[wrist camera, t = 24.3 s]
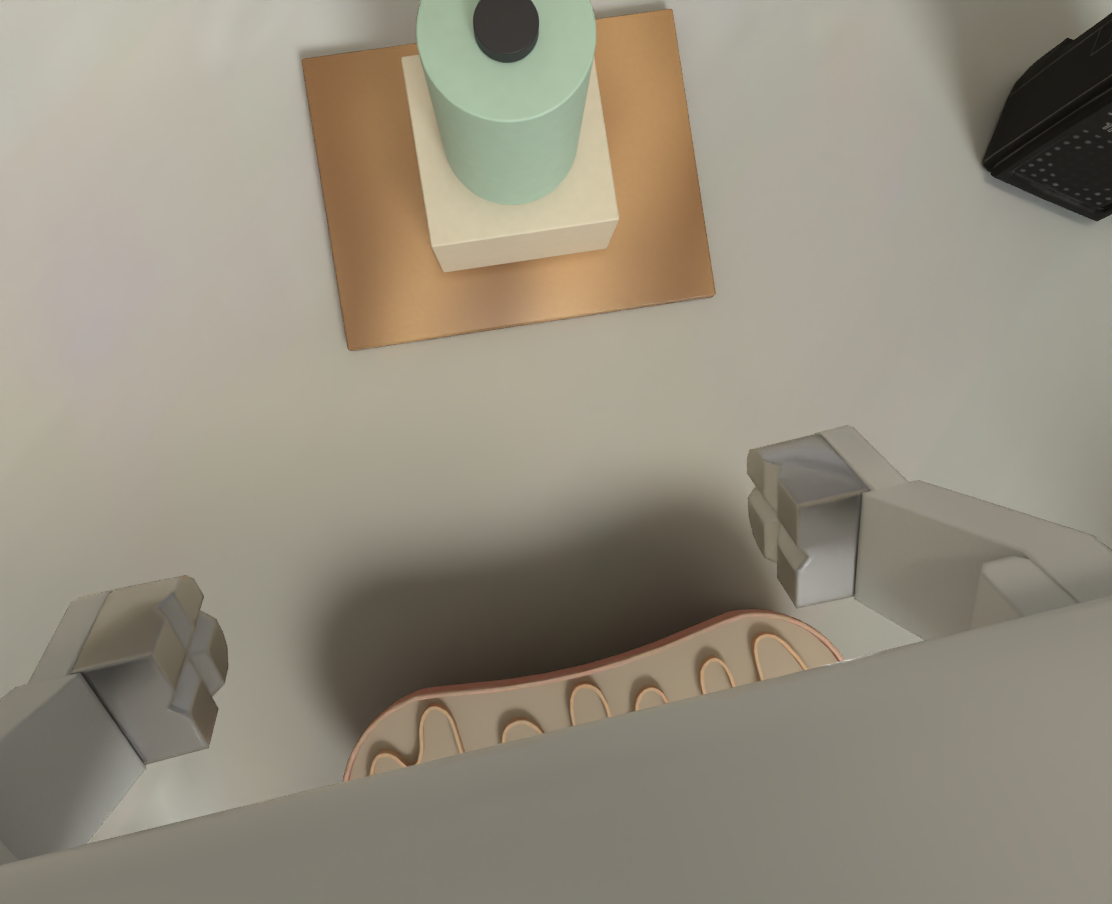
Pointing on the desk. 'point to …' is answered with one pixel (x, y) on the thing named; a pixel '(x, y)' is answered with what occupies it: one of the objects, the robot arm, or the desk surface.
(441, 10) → the blender
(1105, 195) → the portable radio
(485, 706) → the anatomical model
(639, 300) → the cork mat
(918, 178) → the desk surface
